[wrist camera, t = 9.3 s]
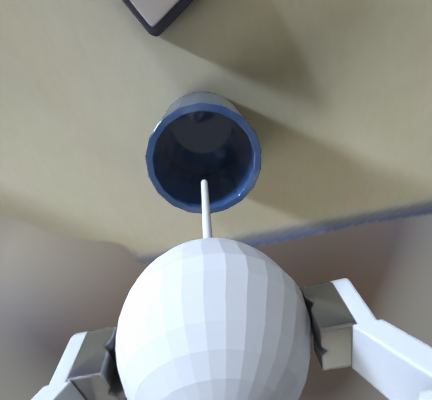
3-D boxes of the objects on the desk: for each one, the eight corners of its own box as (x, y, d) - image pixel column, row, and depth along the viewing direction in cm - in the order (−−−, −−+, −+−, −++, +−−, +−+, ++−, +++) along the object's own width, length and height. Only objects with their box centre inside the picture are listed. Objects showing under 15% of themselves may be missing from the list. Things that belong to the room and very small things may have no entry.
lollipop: (184, 124, 18) (146, 320, 4) (261, 162, 19) (413, 397, 6) (148, 201, 20) (51, 487, 7) (220, 230, 21) (259, 510, 8)
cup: (165, 179, 33) (155, 217, 25) (153, 93, 29) (136, 106, 21) (244, 174, 33) (259, 210, 25) (245, 88, 29) (263, 99, 21)
